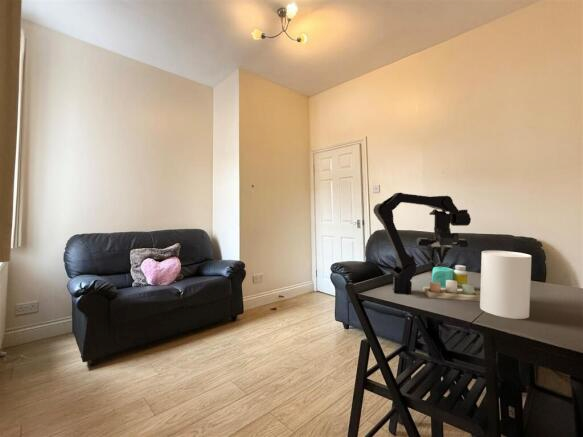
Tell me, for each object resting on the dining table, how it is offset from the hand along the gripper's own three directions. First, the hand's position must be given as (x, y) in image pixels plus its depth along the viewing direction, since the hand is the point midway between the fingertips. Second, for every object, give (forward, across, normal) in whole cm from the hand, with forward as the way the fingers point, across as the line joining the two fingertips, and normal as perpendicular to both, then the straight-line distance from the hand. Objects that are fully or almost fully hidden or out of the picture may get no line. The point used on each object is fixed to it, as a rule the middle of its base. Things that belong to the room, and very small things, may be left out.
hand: (441, 262), depth 117 cm
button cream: (+11, +3, -4) cm, 12 cm away
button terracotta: (+12, -3, -4) cm, 13 cm away
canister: (+13, +15, -18) cm, 27 cm away
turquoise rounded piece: (+13, +3, +10) cm, 17 cm away
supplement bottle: (+13, +10, +9) cm, 19 cm away
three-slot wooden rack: (+12, +3, -4) cm, 13 cm away
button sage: (+12, +9, -4) cm, 16 cm away
